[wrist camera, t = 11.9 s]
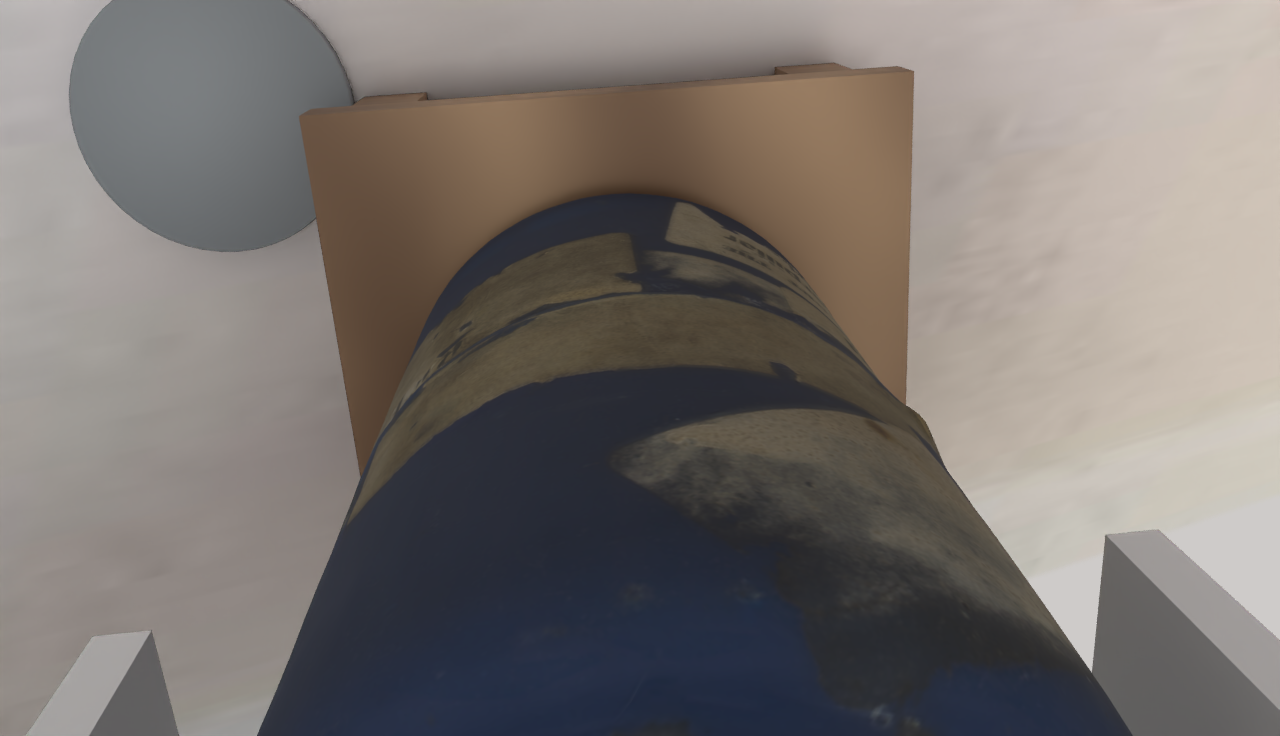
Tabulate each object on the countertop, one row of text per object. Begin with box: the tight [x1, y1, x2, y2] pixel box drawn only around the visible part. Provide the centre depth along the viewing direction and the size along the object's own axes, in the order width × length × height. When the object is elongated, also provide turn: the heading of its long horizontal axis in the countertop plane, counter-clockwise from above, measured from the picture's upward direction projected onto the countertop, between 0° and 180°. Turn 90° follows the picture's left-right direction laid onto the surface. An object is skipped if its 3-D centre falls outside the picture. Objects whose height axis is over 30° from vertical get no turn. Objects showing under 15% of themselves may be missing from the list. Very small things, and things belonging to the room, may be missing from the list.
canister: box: [257, 193, 1133, 736], centre depth 17 cm, size 10×10×18 cm
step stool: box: [299, 63, 914, 476], centre depth 28 cm, size 13×13×6 cm
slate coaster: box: [69, 0, 354, 252], centre depth 28 cm, size 7×7×1 cm
